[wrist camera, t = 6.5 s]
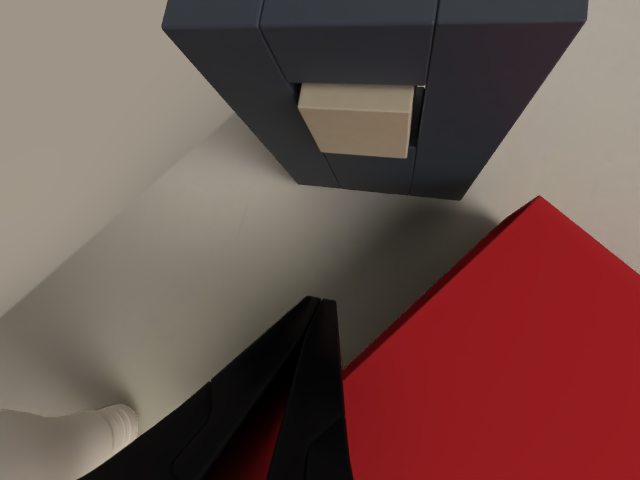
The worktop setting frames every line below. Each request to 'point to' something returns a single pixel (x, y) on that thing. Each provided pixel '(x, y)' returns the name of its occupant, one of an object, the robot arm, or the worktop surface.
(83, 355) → the worktop surface
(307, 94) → the switch rocker
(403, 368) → the red device housing
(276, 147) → the switch plate
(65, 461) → the lightbulb
